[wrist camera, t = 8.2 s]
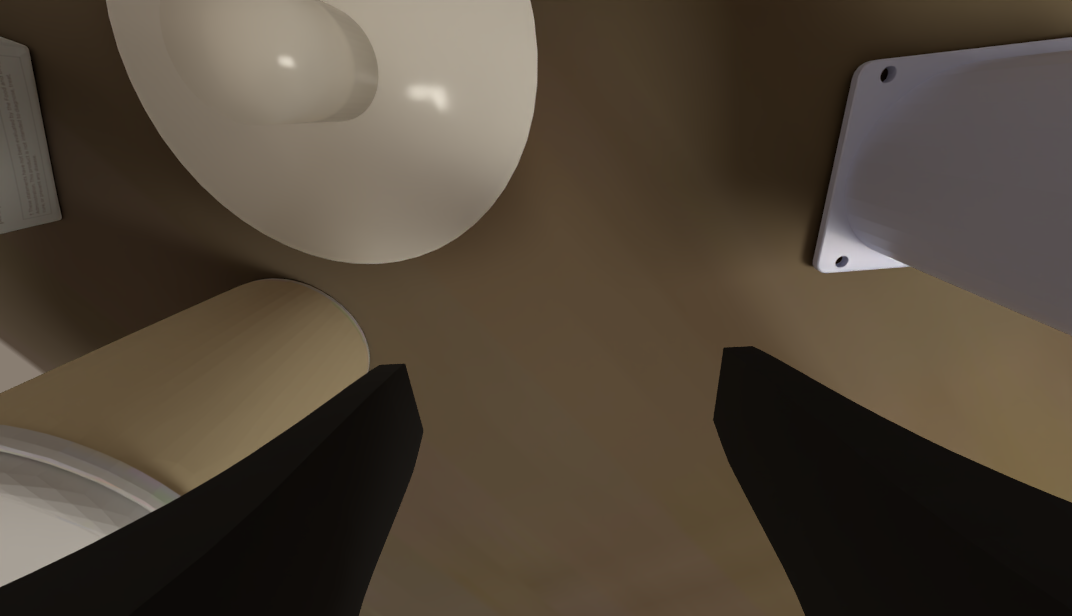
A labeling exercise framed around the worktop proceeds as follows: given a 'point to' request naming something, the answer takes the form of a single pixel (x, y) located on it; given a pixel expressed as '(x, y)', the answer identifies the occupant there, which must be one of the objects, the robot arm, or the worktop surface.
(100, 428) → the coffee cup
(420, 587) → the worktop surface
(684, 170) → the worktop surface
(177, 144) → the lid
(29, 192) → the supplement box
